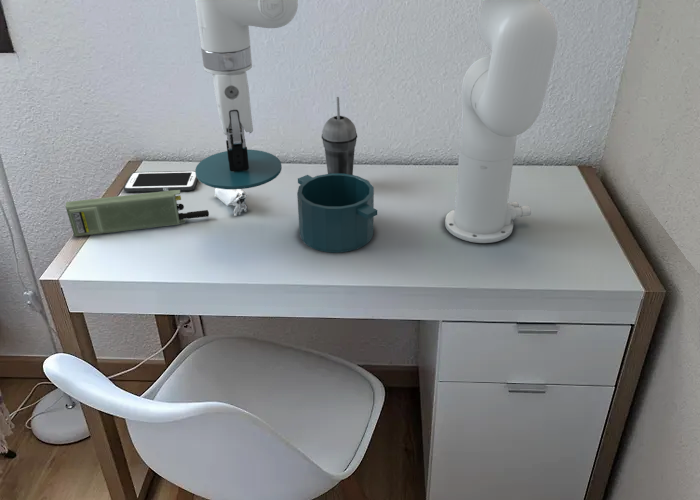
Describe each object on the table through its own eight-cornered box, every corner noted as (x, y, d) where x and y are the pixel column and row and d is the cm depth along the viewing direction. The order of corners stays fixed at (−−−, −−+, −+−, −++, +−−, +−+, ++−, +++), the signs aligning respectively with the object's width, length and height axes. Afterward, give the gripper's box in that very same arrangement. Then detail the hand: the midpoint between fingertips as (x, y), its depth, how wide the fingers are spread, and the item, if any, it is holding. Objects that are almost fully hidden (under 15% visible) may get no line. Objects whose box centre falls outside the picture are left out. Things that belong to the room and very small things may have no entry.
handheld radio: (75, 229, 125) (209, 214, 129) (73, 239, 122) (209, 223, 126) (66, 199, 121) (204, 184, 125) (64, 208, 118) (205, 192, 122)
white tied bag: (257, 212, 132) (231, 185, 137) (253, 188, 127) (226, 161, 132) (236, 224, 130) (211, 195, 135) (231, 200, 125) (205, 171, 130)
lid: (249, 148, 122) (246, 119, 119) (299, 173, 113) (297, 143, 109) (180, 172, 113) (175, 141, 110) (227, 201, 104) (223, 169, 101)
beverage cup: (359, 180, 141) (358, 89, 130) (356, 196, 135) (355, 102, 124) (325, 178, 142) (322, 88, 131) (321, 194, 135) (317, 101, 125)
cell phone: (132, 176, 143) (131, 172, 143) (199, 174, 144) (199, 170, 143) (123, 192, 137) (122, 188, 136) (193, 191, 137) (193, 186, 137)
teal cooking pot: (330, 203, 132) (329, 162, 127) (398, 239, 120) (400, 195, 116) (276, 227, 125) (273, 184, 120) (343, 267, 113) (343, 222, 108)
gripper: (256, 72, 96) (265, 184, 106) (246, 42, 110) (255, 145, 120) (204, 76, 95) (219, 189, 105) (201, 45, 108) (214, 148, 118)
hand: (238, 164), depth 112 cm, fingers closed on lid, 2 cm apart
